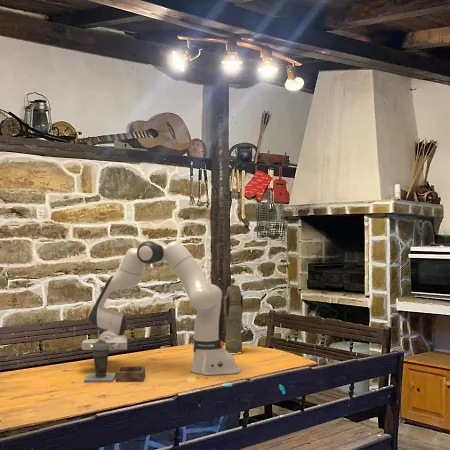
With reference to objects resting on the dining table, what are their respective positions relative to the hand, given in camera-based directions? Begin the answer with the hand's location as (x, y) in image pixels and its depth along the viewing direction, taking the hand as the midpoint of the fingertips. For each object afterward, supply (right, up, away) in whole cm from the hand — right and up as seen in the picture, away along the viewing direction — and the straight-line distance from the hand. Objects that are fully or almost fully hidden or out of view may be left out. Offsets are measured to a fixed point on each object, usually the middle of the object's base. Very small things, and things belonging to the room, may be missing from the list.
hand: (102, 347), depth 269 cm
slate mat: (0, -12, -6) cm, 14 cm away
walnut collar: (+13, -12, -6) cm, 19 cm away
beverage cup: (0, -11, -6) cm, 13 cm away
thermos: (+59, -13, +50) cm, 78 cm away
